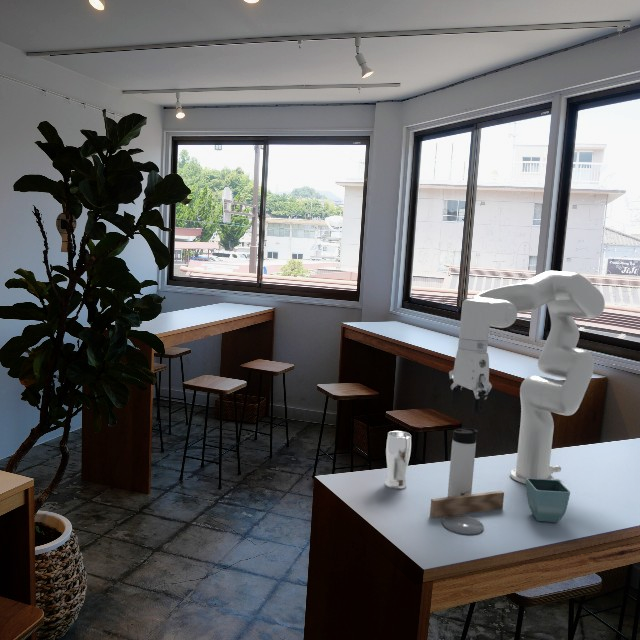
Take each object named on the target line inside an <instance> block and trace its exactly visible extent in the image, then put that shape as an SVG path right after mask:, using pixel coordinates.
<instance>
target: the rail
mask: <svg viewBox="0 0 640 640" xmlns="http://www.w3.org/2000/svg"><path fill="white" fill-rule="evenodd" d="M504 497H505V492H504V491H503V490H497V491H487V492H486V491H485V492H480V493H479V492H478V493H471V494H470V495H461V496H453V497H448V496H445V497H438V498H431V499H430V509H429V517H430V518H431V519H433V518H434V519H436V518H442V517H443V518H445V517H447V516H451V515H464V514H473V513H479V512H487V511H488V512H489V511H495V510H501V509H502V510H503V508H504V499H505V498H504Z"/></svg>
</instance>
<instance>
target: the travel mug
mask: <svg viewBox="0 0 640 640" xmlns="http://www.w3.org/2000/svg"><path fill="white" fill-rule="evenodd" d="M478 434H479V430H478V429H474V428H467V427H462V428H461V427H460V428H456V429H454V430H453V431H452V439H451V440H452V442H451V452H450V463H449V476H448V477H449V478H448V484H447V485H448V487H447V497H453V496H461V495H470V494H473V493H472V491H473V490H472V489H473V478H474V471H475V470H474V467H475V457H476V447H477V446H476V445H477V435H478Z"/></svg>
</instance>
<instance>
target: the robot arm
mask: <svg viewBox="0 0 640 640" xmlns="http://www.w3.org/2000/svg"><path fill="white" fill-rule="evenodd" d="M461 304H462V305H461V313H460V325H459V335H458V342H457V343H458V344H457V346H458V347H457V350H456V354H455V359H454V365H453V369H452V370H449V372H448V376H449V383H450V389H451V396H450V404H451V405H461V404H462V402H463V401H462V400H463V389H462V388H465V389H468V390H471V391H473V394H474V398H473V401H472V410H471V413H472V414H474V415H475V414H476V415H478V414H479V415H481V414H484V412H485V402H486V400H487V399H488V396H489V394H490V392H491V390H492V388H493V384H492V383H491V382H490V381H489V379H490V378H489V377H490V357H489V353H488V346H489V333H490V328H491V327H493V328H499V329H504V328H508V327H511V326H512V325H513V324H514V323H515V322H516V320H517V317H518V313H526V312H532V311H534V310H535V311H536V309H538V308H541V307H542V306H544V305H547V309H548V314H549V317H550V318H549V319H550V331H549V334H548V336H547V338H546V341H545V343H544V345H543V348H542V350H541V353H540V355H539V357H538V359H537V367H538V370H539V372H541V373H543V374H545V375H547V376H551V377H555V378H560V379H564V380H565V381H562V380H558V379H554V378H550V377H547V376H542V375H541V376H540V375H531V376H528V377H526V378H524V380H523V381H522V382H521V384H520V387H519V397H520V406H521V407H520V408H521V409H520V411H521V412H520V424H519V425H520V427H519V435H518V445H517V453H516V454H517V455H516V465H515V468H513V469H511V470H510V471H509V472H510V474H509V475H510V477H511V478H512V480H514V481H517V482H519V483H521V484H524V485H525V484H526V478H531V479H547V480H555V479H554V477H553V475H552V474H553V473H560V472H561V471H562V467H561V466H560V465H552V464H551V456H552V447H553V446H552V445H553V436H554V428H555V425H554V424H555V423H554V419H553V418H554V417H553V415H552V413H554V414H558V415H562V416H567V417H568V416H572V415H574V414H575V413H576V412H577V411H578V409H579V408H580V405H581V403H582V402H583V399H584V397H585V394H586V391H587V390H588V387H589V386H590V385H589V384H590V382H591V379H592V377H593V375H594V368H595V361H594V357H593V355H592V354H591V353H590V352H589V351H587V350H585V349H581V348H577V344H578V343H579V340H580V339H579V338H580V331H579V328H578V326H577V323H576V320H575V319H574V317H575V318H582V319H590V320H592V319H597V318H599V317H600V316H601V315H602V313H603V312H604V311H605V310H604V309H605V306H606V303H605V298H604V295H603V294H602V292H601V291H600V290H599V289H598V288H597V287H596V286H595V285H594V284H593V283H592V282H591V281H590V280H588V278H586V277H585V276H584V275H581V274H580V273H577V272H572V271H558V270H547V271H544V272H541V273H538V274H537V275H535V276H532V277H531V278H528V279H526V280H524V281H522V282H520V283H514V284H513V283H512V284H508V285H504V286H500V287H496V288H491V289H487V290H485V291H481V292H480V293H478V294H476V295H473V296H472V297H470V298H466V299H464V300H463V301H462V303H461Z"/></svg>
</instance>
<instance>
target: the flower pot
mask: <svg viewBox="0 0 640 640" xmlns="http://www.w3.org/2000/svg"><path fill="white" fill-rule="evenodd" d="M525 486H526V487H525V488H526V491H525V492H526V498H527V503H528V504H527V505H528V507H529V510H530V511H531V514H532V515H533V517H535V519H536V521H538V522H550V523H558V522H559V521H560V520H561V519H562V518H563V517H564V515H565V513H566V511H567V508H568V504H569V500H570V497H571V491H570V490H569V489H568V488H567V487H566V486H565V485H564V484H563V483H562V481H560V480H557V479H554V480H547V479H531V478H526V485H525Z"/></svg>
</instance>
